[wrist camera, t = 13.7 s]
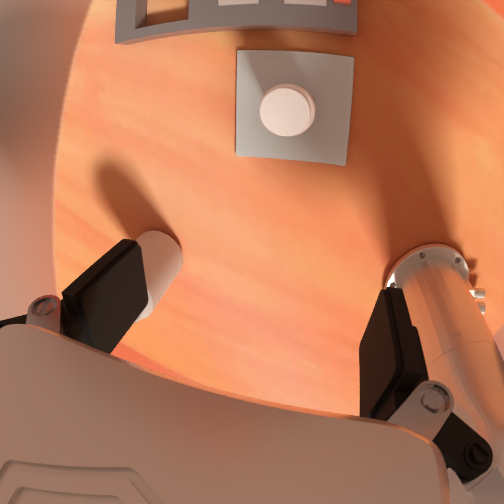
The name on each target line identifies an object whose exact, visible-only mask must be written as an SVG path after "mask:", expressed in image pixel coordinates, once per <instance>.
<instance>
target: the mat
mask: <svg viewBox="0 0 504 504" xmlns="http://www.w3.org/2000/svg"><path fill="white" fill-rule="evenodd" d="M353 73H354V57H348V56H341V55H333V54H324V53H313V52H300V51H280V50H237V96H236V156H247V157H262V158H275V159H287V160H298V161H308V162H317V163H326V164H334V165H342V166H346V158H347V149H348V139H349V129H350V118H351V105H352V91H353ZM286 83H288V84H295V85H299V86H302V87H304V88H305V89H307V90H308V91H309V92H310V93H311V95H312V96H313V98H314V100H315V104H316V110H315V118H314V121H313V123H312V124H311V126H310V127H309V128H308V129H307V130H306V131H304V132H303V133H301V134H298V135H295V136H280V135H277V134H274V133H272V132H271V131H269V130H268V129H267V128H266V127H265V126H264V124H263V123H262V121H261V118H260V113H259V109H260V104H261V101H262V98H263V96H264V95H265V94H266V92H267V91H268V90H270V89H271V88H272V87H274V86H276V85H279V84H286Z"/></svg>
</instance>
